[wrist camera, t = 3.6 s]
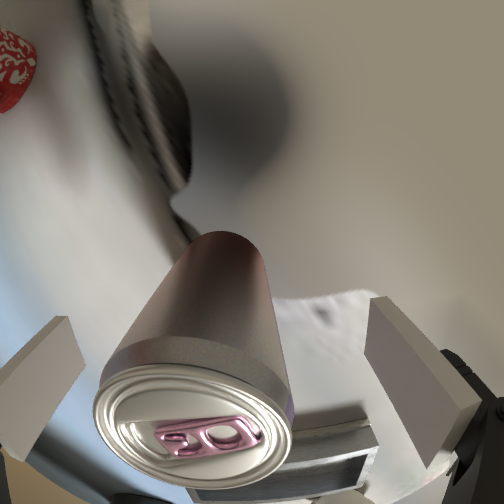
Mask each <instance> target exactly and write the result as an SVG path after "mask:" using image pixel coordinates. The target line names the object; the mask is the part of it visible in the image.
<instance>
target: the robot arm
mask: <svg viewBox="0 0 504 504" xmlns="http://www.w3.org/2000/svg"><path fill="white" fill-rule="evenodd" d="M364 354H365V356H366V358H367V360H368V361H369V363H370V365H371V367H372V368H373V370H374V372H375V374H376V375H377V377H378V379H379V381H380V383H381V384H382V386H383V388H384V390H385V391H386V393H387V395H388V397H389V399H390V401H391V402H392V404H393V406H394V408H395V410H396V412H397V413H398V415H399V417H400V419H401V421H402V423H403V425H404V426H405V428H406V430H407V432H408V434H409V436H410V438H411V440H412V442H413V444H414V446H415V448H416V450H417V451H418V453H419V455H420V457H421V459H422V461H423V463H424V465H425V467H426V469H430V468H432V467H434V466H437V465H439V464H441V463H444V462H446V461H447V460H448V458H449V457H450V455H451V454H452V452H453V451H454V450H455V452H456V454H457V455H458V458H457V460H456V461H455V462H454V464H453V465H452V467H451V468H450V469H449V471H448V472H447V474H446V476H449V475H450V473H451V472H452V475H451V478H450V481H449V484H448V487H447V490H446V493H445V496H444V499H443V501H442V504H504V397H499V398H497V397H496V396H495V395H494V394H493V393H492V392H491V391H490V390H489V389H488V387H487V386H486V385H485V384H484V383H483V382H482V381H481V379H480V378H479V377H478V376H477V375H476V374H475V373H473V372H472V370H471V369H470V367H468V366H466V363H465V362H464V361H463V360H462V359H461V358H460V357H459V356H458V355H457V354H455V353H453V352H451V351H449V350H447V349H444V350H441V351H439V350H438V349H437V348H436V347H435V346H434V345H433V344H432V343H431V341H430V340H429V339H428V338H427V337H426V336H425V335H424V334H423V333H422V332H421V331H420V330H419V329H418V328H417V326H416V325H415V324H414V323H413V322H412V321H411V320H410V319H409V318H408V317H407V316H406V315H405V314H404V313H403V312H402V311H401V310H400V309H399V308H398V307H397V306H396V305H395V304H394V303H393V302H392V301H391V300H390V299H389V298H388V297H387V296H385V297H378V298H370V309H369V318H368V328H367V336H366V344H365V351H364ZM85 366H86V364H85V362H84V359H83V357H82V354H81V352H80V349H79V346H78V344H77V341H76V338H75V336H74V333H73V330H72V327H71V324H70V321H69V318H68V316H55V317H54V318H53V319H52V320H51V321H50V322H49V323H48V324H47V325H46V326H44V327H43V328H42V329H41V330H40V331H39V332H38V333H37V334H36V335H35V336H34V337H33V338H32V339H31V340H30V341H29V342H27V343H26V344H25V345H24V346H23V347H22V348H21V349H20V350H19V351H18V352H17V353H16V354H15V355H14V356H13V357H12V358H11V359H10V360H9V361H8V362H7V363H6V364H5V365H4V366H3V367H2V368H1V369H0V448H1V447H2V446H3V448H4V449H5V450H6V451H7V452H8V454H9V455H10V456H11V457H13V458H15V459H17V460H20V461H22V462H24V460H25V459H26V457H27V455H28V453H29V452H30V450H31V448H32V447H33V445H34V443H35V442H36V440H37V439H38V437H39V435H40V434H41V432H42V430H43V429H44V427H45V426H46V424H47V423H48V421H49V419H50V418H51V416H52V415H53V413H54V412H55V410H56V409H57V407H58V406H59V404H60V403H61V401H62V400H63V398H64V397H65V395H66V394H67V392H68V391H69V389H70V388H71V386H72V385H73V383H74V382H75V380H76V379H77V378H78V376H79V375H80V373H81V372H82V370H83V369H84V368H85ZM0 504H11V499H10V494H9V489H8V483H7V477H6V471H5V463H4V456H3V454H2V452H1V451H0ZM110 504H169V503H166V502H163V501H160V500H156V499H152V498H148V497H143V496H138V495H131V494H117V495H114V496H112V498H111V501H110Z"/></svg>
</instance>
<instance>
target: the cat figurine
mask: <svg viewBox="0 0 504 504" xmlns="http://www.w3.org/2000/svg"><path fill="white" fill-rule="evenodd" d="M311 504H375V503H374V502H372V501H371V500H369V499H368V498H366V497H365V496H364V495H363V494H361V493H360V492H358V491H356V490H353V489H352V490H348V491H344V492H339V493H334V494H329V495H324V496H321V497H320V498H316V499H314V500H313V501H312V503H311Z"/></svg>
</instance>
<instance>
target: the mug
mask: <svg viewBox="0 0 504 504" xmlns="http://www.w3.org/2000/svg"><path fill="white" fill-rule="evenodd" d="M35 65H36V51H35V49H34V47H33V46H32V45H31V44H30V43H29V42H27V41H25V40H24V39H22V38H20V37H19V36H17V35H15V34H13V33H12V32H10V31H8V30H7V29H5V28H4V27H2V26H0V113H4V112H6V111H8V110H9V109H11V108H12V107H13V106H14V105H15V104H16V103H17V102H18V101H19V100H20V98H21V97H22V95H23V94H24V92H25V91H26V89H27V87H28V85H29V83H30V81H31V78H32V76H33V73H34V69H35Z"/></svg>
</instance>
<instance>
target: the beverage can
mask: <svg viewBox="0 0 504 504" xmlns="http://www.w3.org/2000/svg"><path fill="white" fill-rule="evenodd" d="M93 418H94V423H95V426H96V428H97V431H98V433H99V435H100V436H101V438H102V439H103V441H104V442H105V444H106V445H107V446H108V447H109V448H110V449H111V450H112V451H113V452H114V453H115V454H116V455H117V456H118V457H119V458H120V459H122V460H123V461H124V462H126V463H127V464H128V465H130V466H131V467H133V468H134V469H136V470H138V471H140V472H142V473H143V474H145V475H148V476H150V477H152V478H154V479H157V480H160V481H163V482H166V483H169V484H172V485H177V486H181V487H186V488H193V489H206V490H217V489H229V488H235V487H240V486H244V485H248V484H251V483H254V482H256V481H259V480H261V479H263V478H265V477H267V476H268V475H270V474H271V473H273V472H274V471H275V470H277V469H278V468H279V467H280V466H281V465H282V464H283V462H284V461H285V460H286V458H287V456H288V455H289V452H290V450H291V446H292V431H291V428H292V424H293V420H294V404H293V399H292V394H291V389H290V385H289V380H288V375H287V370H286V365H285V360H284V355H283V351H282V346H281V341H280V336H279V331H278V327H277V322H276V317H275V312H274V308H273V303H272V298H271V294H270V289H269V284H268V279H267V275H266V270H265V265H264V262H263V259H262V256H261V254H260V253H259V251H258V250H257V248H256V247H255V246H254V245H253V244H252V243H251V242H250V241H249V240H247V239H246V238H244V237H242V236H241V235H238V234H236V233H232V232H227V231H214V232H210V233H206V234H204V235H202V236H200V237H198V238H196V239H195V240H194V241H193V242H191V243H190V244H189V246H188V247H187V248H186V249H185V251H184V252H183V253H182V255H181V256H180V258H179V259H178V260H177V262H176V263H175V264H174V266H173V267H172V268H171V270H170V271H169V273H168V274H167V275H166V277H165V278H164V280H163V281H162V282H161V284H160V285H159V287H158V288H157V289H156V291H155V292H154V294H153V295H152V297H151V298H150V299H149V301H148V302H147V304H146V305H145V307H144V308H143V310H142V311H141V312H140V314H139V315H138V317H137V318H136V320H135V321H134V323H133V324H132V326H131V327H130V329H129V330H128V332H127V333H126V335H125V336H124V338H123V339H122V341H121V342H120V344H119V345H118V347H117V348H116V350H115V351H114V353H113V355H112V356H111V358H110V359H109V361H108V362H107V364H106V365H105V367H104V369H103V372H102V374H101V378H100V386H99V390H98V392H97V394H96V396H95V399H94V403H93Z"/></svg>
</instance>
